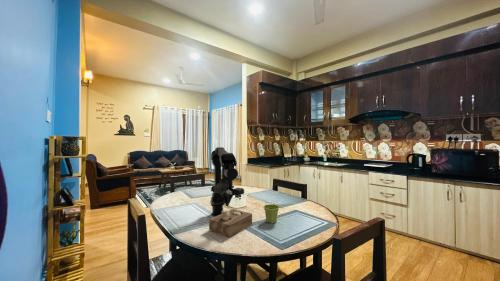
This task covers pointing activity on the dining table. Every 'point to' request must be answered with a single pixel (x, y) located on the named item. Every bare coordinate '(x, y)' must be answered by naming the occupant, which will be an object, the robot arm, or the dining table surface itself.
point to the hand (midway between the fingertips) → (227, 206)
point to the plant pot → (271, 212)
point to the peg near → (225, 215)
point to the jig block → (230, 223)
